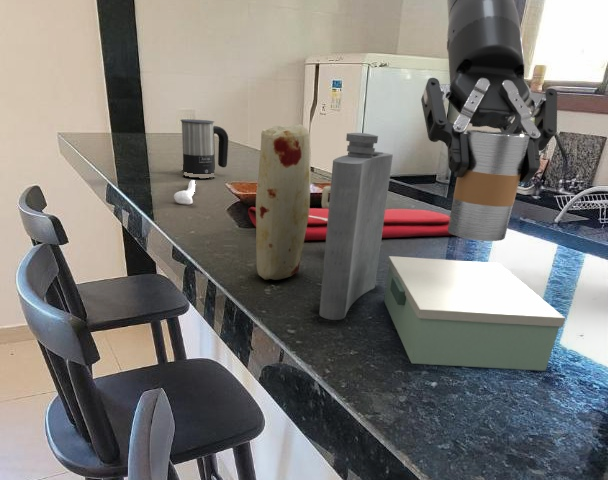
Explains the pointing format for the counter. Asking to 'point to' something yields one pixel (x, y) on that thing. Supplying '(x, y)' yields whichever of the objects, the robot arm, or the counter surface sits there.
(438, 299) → the box
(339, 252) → the hip flask
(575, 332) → the counter surface
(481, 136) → the tin can
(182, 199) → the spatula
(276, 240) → the food model
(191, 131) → the milk frother
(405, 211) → the dish drying mat
